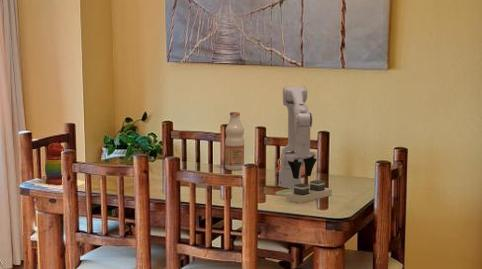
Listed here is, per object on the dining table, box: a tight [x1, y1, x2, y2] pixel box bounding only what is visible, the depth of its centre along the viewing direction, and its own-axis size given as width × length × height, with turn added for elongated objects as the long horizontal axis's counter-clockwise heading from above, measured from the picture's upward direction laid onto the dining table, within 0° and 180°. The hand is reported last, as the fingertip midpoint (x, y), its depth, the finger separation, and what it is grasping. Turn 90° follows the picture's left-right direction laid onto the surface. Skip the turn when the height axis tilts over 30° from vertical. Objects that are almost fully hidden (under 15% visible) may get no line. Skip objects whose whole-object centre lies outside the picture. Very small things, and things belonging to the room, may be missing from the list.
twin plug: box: [309, 179, 326, 192], centre depth 282 cm, size 4×4×6 cm
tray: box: [274, 188, 294, 198], centre depth 285 cm, size 9×9×2 cm
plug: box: [293, 182, 310, 196], centre depth 275 cm, size 4×4×6 cm
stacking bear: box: [44, 141, 66, 186], centre depth 306 cm, size 11×10×18 cm
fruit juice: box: [224, 111, 245, 171], centre depth 340 cm, size 9×9×28 cm
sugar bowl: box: [275, 157, 305, 177], centre depth 325 cm, size 12×14×10 cm
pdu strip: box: [286, 187, 333, 204], centre depth 279 cm, size 7×20×3 cm, turn 136°
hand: (302, 177), depth 274 cm, fingers open, 7 cm apart
